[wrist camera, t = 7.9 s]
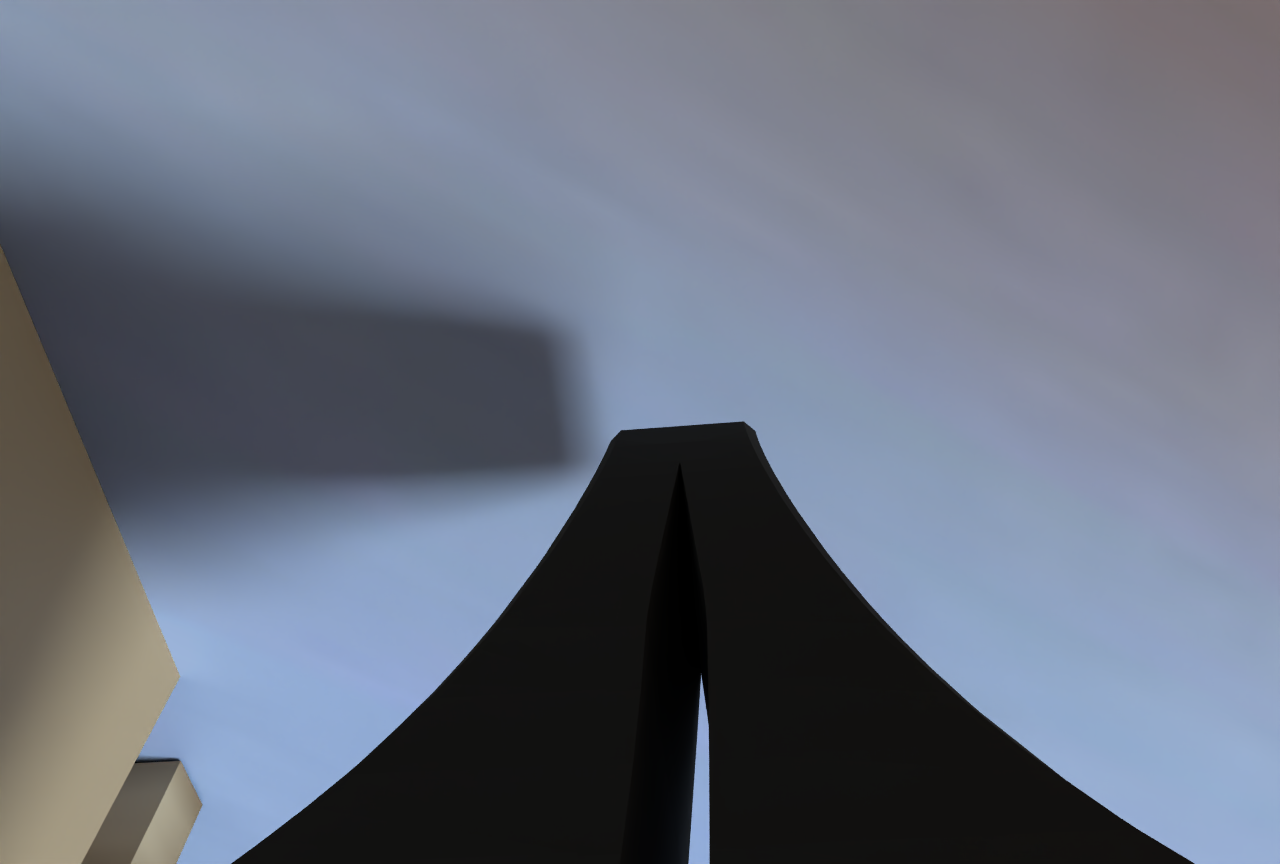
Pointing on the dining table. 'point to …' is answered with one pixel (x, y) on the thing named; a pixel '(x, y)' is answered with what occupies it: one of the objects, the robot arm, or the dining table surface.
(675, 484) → the robot arm
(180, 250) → the dining table surface
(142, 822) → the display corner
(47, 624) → the carton
